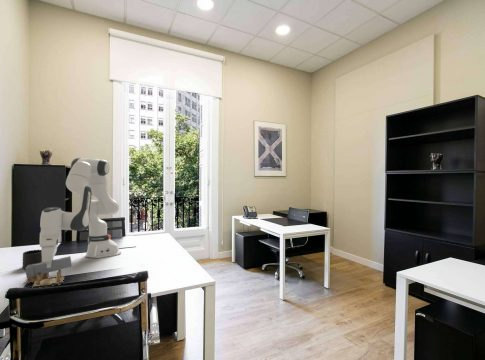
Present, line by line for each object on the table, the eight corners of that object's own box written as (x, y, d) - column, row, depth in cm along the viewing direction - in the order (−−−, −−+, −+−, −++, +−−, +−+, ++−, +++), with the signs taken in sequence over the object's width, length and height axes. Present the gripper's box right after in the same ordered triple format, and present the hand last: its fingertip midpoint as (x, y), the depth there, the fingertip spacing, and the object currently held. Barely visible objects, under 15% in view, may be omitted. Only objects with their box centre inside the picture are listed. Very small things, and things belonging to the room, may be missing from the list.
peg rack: (64, 278, 134) (64, 267, 134) (62, 283, 128) (63, 271, 128) (35, 282, 128) (36, 270, 128) (32, 288, 121) (32, 275, 121)
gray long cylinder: (71, 264, 134) (70, 255, 134) (71, 267, 131) (69, 258, 130) (28, 275, 125) (27, 265, 125) (26, 278, 121) (25, 268, 121)
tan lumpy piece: (49, 275, 137) (49, 268, 137) (47, 280, 131) (47, 272, 131) (30, 278, 133) (30, 270, 133) (27, 283, 127) (27, 275, 127)
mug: (50, 263, 156) (51, 249, 156) (30, 270, 144) (30, 254, 144) (39, 262, 158) (39, 248, 158) (18, 268, 147) (18, 253, 147)
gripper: (46, 235, 135) (45, 261, 135) (39, 244, 118) (38, 273, 117) (60, 234, 138) (59, 259, 138) (55, 242, 121) (54, 271, 121)
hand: (49, 266), depth 128 cm, fingers closed on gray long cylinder, 3 cm apart
